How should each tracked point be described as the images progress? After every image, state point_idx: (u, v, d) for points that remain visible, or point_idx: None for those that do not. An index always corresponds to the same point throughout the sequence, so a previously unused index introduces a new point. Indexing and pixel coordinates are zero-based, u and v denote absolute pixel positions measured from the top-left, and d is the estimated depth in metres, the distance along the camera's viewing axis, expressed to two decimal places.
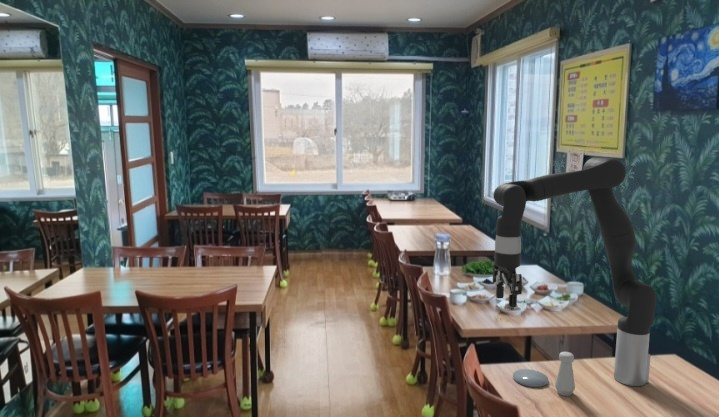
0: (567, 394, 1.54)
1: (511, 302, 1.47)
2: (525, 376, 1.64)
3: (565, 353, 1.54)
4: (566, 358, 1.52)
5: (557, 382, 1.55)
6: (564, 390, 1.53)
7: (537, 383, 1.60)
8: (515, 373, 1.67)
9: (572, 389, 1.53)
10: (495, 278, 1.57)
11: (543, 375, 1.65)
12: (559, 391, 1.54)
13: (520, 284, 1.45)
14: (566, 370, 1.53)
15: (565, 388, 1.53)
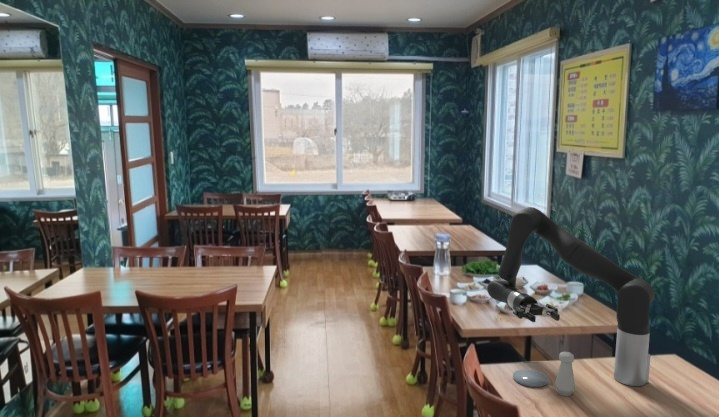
0: (567, 394, 1.54)
1: (530, 320, 1.66)
2: (525, 376, 1.64)
3: (565, 353, 1.54)
4: (566, 358, 1.52)
5: (557, 382, 1.55)
6: (564, 390, 1.53)
7: (537, 383, 1.60)
8: (515, 373, 1.67)
9: (572, 389, 1.53)
10: None
11: (543, 375, 1.65)
12: (559, 391, 1.54)
13: (516, 309, 1.71)
14: (566, 370, 1.53)
15: (565, 388, 1.53)
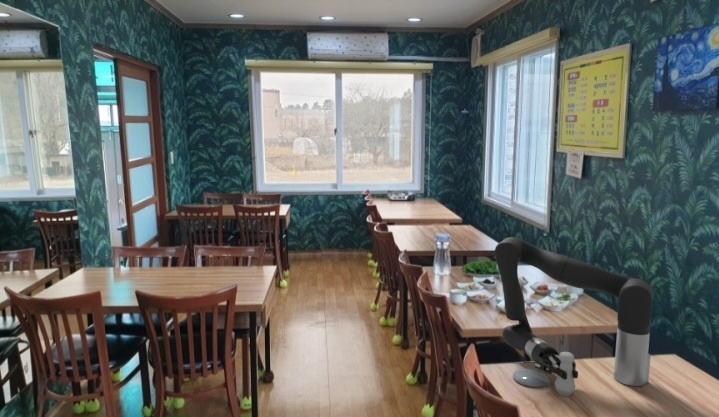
0: (567, 394, 1.54)
1: (560, 376, 1.53)
2: (525, 376, 1.64)
3: (565, 353, 1.54)
4: (566, 358, 1.52)
5: (557, 382, 1.55)
6: (564, 390, 1.53)
7: (537, 383, 1.60)
8: (515, 373, 1.67)
9: (572, 389, 1.53)
10: None
11: (543, 375, 1.65)
12: (559, 391, 1.54)
13: (542, 364, 1.58)
14: (566, 369, 1.53)
15: (565, 388, 1.53)
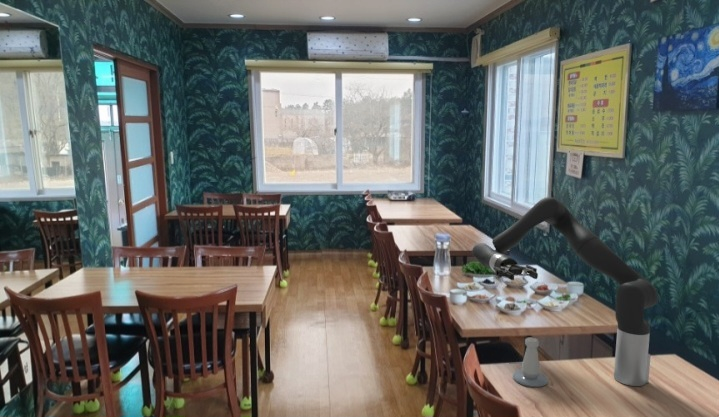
0: (532, 377, 1.62)
1: (509, 278, 1.71)
2: None
3: (530, 338, 1.63)
4: (531, 343, 1.61)
5: (523, 366, 1.63)
6: (529, 374, 1.62)
7: (537, 383, 1.60)
8: (515, 373, 1.67)
9: (537, 372, 1.62)
10: None
11: (543, 375, 1.65)
12: (525, 374, 1.63)
13: (496, 269, 1.76)
14: (531, 354, 1.62)
15: (530, 371, 1.61)
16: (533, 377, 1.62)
